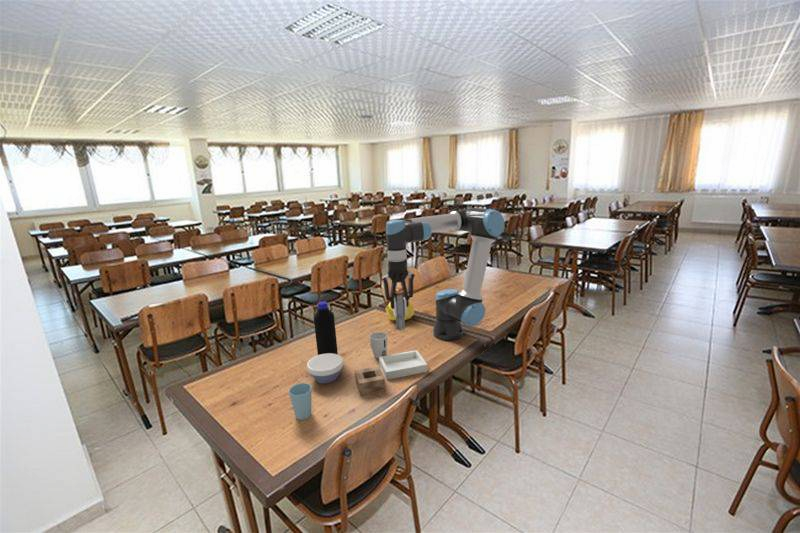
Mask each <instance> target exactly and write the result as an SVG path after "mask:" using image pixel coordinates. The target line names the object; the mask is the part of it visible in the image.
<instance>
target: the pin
mask: <svg viewBox="0 0 800 533" xmlns="http://www.w3.org/2000/svg"><path fill="white" fill-rule="evenodd" d="M404 292H405V290H404V289H403V288H402V287H396V290H395V301H396V309H397V317H396V320H395V327H396V330H398V331H403V330H405V329H406V320H405V315H404V294H403V293H404Z"/></svg>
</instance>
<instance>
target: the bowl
mask: <svg viewBox="0 0 800 533" xmlns="http://www.w3.org/2000/svg"><path fill="white" fill-rule="evenodd" d="M306 363H307V364H306V367H307V372H308V373H309V374H310V376H311V377H312V378H313V379H314V380H315V381H316V382H317V383H319V384H329V383H333V382H334V381H336V380H337V378H338V377H339V375H340V373H341V372H342V369H343V367H344V360H343V357H342V356H341V355H339V354H338V355H337V354H332V353H327V354H321V355H318V354H317V355H315V356H313V357H311V358H310V359H309V360H308V361H307V362H306Z"/></svg>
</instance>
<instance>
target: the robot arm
mask: <svg viewBox="0 0 800 533" xmlns="http://www.w3.org/2000/svg"><path fill="white" fill-rule="evenodd" d="M504 229H505V218H504V217H503V214H502V213H501V212H500V211H498V210H496V209H491V208H478V207H477V208H476V207H471V208H469V207H468V208H464V209H459V210H453V211H450V212H449V213H446V214H445V213H443V214H438V215H436V214H435V215H429V216H421V217H420V216H419V217H415V218H406V219H399V218H398V219H391V220H388V221H387V222H386V225H385V236H386V249H387V250H386V251H387V252H386V253H387V260H388V261H387V270H388V271H387V274H385V275H384V276H381V280H382V282H383V288H384V296H385V299H386V301H389V303H390V304H391V308H392V309H393V315H394V316H395V317H397V309H396V301H395V300H394V298H395V290H396V288H397V285H398V284H397V283H400V284H401V288H403V289H404V290H405V292H404V293H403V294H404V297H405V298H404V314H405V315H407V307H408V306H409V301H410V299H411V298H413V295H414V278H415V276H416V275H415V273H414V272H409V270H408V262H407V260H408V259H407V244H410V243H416V242H417V243H418V242H423V241H426V240H428V239H430V238H431V236H432V233H438V232H439V233H440V232H445V231H453V232H466V233H470V238H471V239H472V242H471V246H470V251H469V256H468V260H467V261H468V262H467V265H466V270H465V274H464V275H465V276H464V279H463V283H462V284H463V285H462V290H461V291H459V290H458V289H453V288H452V289H451V288H448V289H442V290H439V291H437V292H436V294H435V315H436V316H435V317H436V318H435V319H436V320H435V323H434V326H433V329H432V332H433V334H432V335H433V336H434V337H435V338H436V339H439V340H442V341H454V340H458V339H461V338H462V337H463V336H464V329H463V325H465V326H466V325H467V326H470V327H474V326H477V325H479V323H481V322H482V321H483V319H484V318H485V315H486V308H485V305H484V304H483V299H484V298H483V296H482V294H481V292H482V289H483V284H484V279H485V275H486V270H487V265H488V261H489V256H490V252H491V248H492V244H493V243H495V242H496V241H497V237H499V236H500V235H502V233H503V232H504ZM407 278H408V287H407V284H406V279H407ZM389 279H390V280H391V286H390V290H389V282H388V281H389ZM407 288H408V289H407ZM408 300H409V301H408ZM462 324H463V325H462Z"/></svg>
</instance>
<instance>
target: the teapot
mask: <svg viewBox="0 0 800 533" xmlns="http://www.w3.org/2000/svg"><path fill="white" fill-rule="evenodd" d="M404 298H405V297H404ZM394 300H395V298H394ZM408 301H409V306H408V307H407V315H405V314H404V315H405V321H407V320H411V319H412V317H413V315H414V314H415V309H414V306H413V304H412V303H411V301H410V299H409V300H408ZM385 311H386V316H387V317H388V318H389V321H392V322H393V321H396V317H395V316H394V315H393V309H392V308H391V304H390V302H389V303H388V305H387V306H386V307H385Z"/></svg>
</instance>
